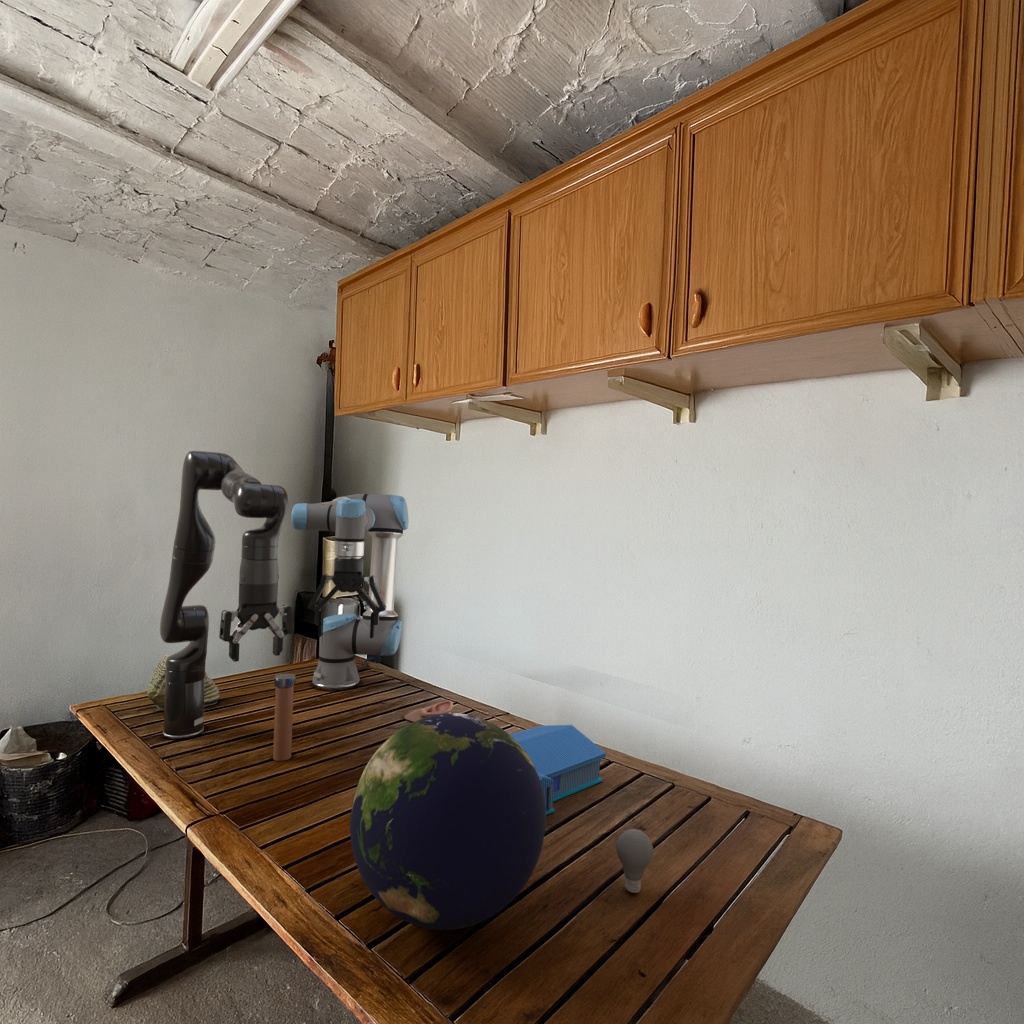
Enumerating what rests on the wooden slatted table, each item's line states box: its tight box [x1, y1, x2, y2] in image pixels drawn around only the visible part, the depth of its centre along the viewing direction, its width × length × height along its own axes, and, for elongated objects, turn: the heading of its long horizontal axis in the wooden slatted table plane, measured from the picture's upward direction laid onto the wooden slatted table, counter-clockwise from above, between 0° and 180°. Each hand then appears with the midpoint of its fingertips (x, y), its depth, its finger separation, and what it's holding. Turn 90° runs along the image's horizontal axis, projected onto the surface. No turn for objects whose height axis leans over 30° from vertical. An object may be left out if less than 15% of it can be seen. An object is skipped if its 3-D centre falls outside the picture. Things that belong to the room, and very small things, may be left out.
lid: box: [273, 673, 297, 688], centre depth 152 cm, size 5×5×2 cm
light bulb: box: [615, 828, 654, 894], centre depth 106 cm, size 6×6×10 cm
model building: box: [509, 724, 607, 816], centre depth 141 cm, size 39×24×10 cm, turn 132°
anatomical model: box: [403, 700, 454, 723], centre depth 184 cm, size 13×4×12 cm
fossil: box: [147, 654, 221, 712], centre depth 185 cm, size 9×18×15 cm, turn 132°
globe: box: [349, 712, 547, 931], centre depth 98 cm, size 30×30×30 cm
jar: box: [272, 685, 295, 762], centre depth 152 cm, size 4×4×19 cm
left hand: (256, 657), depth 132 cm, fingers open, 8 cm apart
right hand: (346, 636), depth 169 cm, fingers open, 13 cm apart
